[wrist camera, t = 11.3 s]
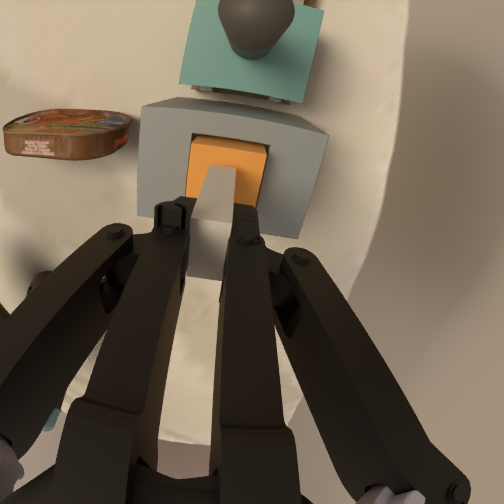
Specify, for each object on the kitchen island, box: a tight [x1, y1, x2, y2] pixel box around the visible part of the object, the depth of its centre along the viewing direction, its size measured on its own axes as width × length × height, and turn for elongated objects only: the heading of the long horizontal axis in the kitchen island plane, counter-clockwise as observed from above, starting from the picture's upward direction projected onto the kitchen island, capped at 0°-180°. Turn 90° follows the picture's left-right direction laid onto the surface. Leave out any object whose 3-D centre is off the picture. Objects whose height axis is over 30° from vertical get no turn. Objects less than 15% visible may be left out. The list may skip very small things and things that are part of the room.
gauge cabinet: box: [137, 97, 329, 239], centre depth 22 cm, size 12×8×10 cm, turn 79°
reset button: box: [186, 134, 267, 208], centre depth 17 cm, size 4×4×3 cm
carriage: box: [179, 0, 324, 103], centre depth 13 cm, size 8×9×13 cm
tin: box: [3, 109, 131, 161], centre depth 20 cm, size 15×3×8 cm, turn 75°
